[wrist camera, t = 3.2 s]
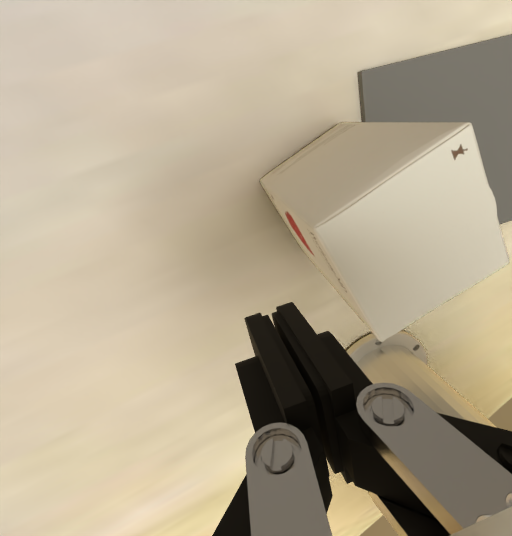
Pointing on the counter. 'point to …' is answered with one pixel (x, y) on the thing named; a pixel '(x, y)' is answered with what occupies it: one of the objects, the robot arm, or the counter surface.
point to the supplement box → (392, 216)
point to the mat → (453, 101)
